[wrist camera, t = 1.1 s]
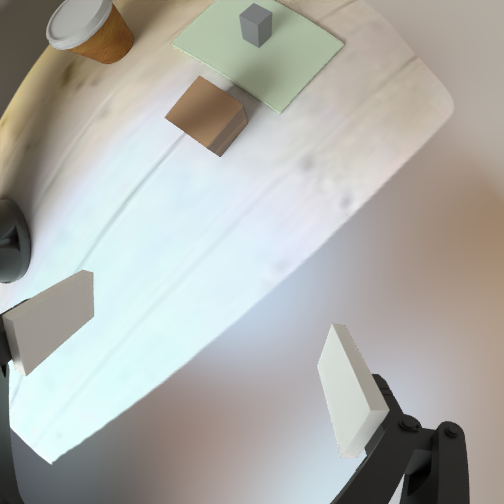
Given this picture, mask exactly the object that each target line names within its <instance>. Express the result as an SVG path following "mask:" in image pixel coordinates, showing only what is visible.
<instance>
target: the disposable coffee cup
mask: <svg viewBox="0 0 504 504" xmlns="http://www.w3.org/2000/svg"><path fill="white" fill-rule="evenodd" d="M46 36H47V39H48V40H49V43H50V45H51V46H52V47H53V48H55V49H59V50H63V49H66V50H69V51H72V52H75V53H78V54H80V55H83V56H86V57H88V58H91V59H94V60H96V61H99V62H101V63H104V64H111V63H114V62H116V61H118V60H120V59H121V58H123V57H124V56H125V55H126V54H127V53H128V51H129V50H130V48H131V46H132V44H133V35H132V33H131V32H130V30H129V29H128V27H127V25H126V24H125V22H124V20H123V19H122V17H121V15H120V14H119V12H118V11H117V9H116V7H115V6H114V4H113V2H112V0H65V1H64V2H63V3H62V4H61V5H60V6H59V7H58V8H57V10H56V11H55V12H54V14H53V15H52V17H51V19H50V21H49V23H48V26H47V29H46Z"/></svg>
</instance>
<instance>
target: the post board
mask: <svg viewBox="0 0 504 504" xmlns="http://www.w3.org/2000/svg"><path fill="white" fill-rule="evenodd" d="M171 45H172V46H173V47H174V48H176V49H178V50H180V51H182V52H183V53H185V54H187V55H189V56H191V57H192V58H194V59H196V60H198V61H199V62H201V63H203V64H204V65H206V66H208V67H209V68H211V69H213V70H214V71H216V72H218V73H219V74H221V75H222V76H224V77H226V78H227V79H229V80H230V81H232V82H233V83H235V84H236V85H238V86H239V87H241V88H242V89H244V90H245V91H247V92H248V93H250V94H251V95H253V96H254V97H256V98H257V99H258V100H260V101H261V102H263V103H264V104H266V105H267V106H268V107H270V108H271V109H272V110H274V111H275V112H277V113H278V114H279V115H280V114H281V113H282V112H283V110H284V109H285V108H286V107H287V106H288V105H289V104H290V103H291V101H292V100H293V99H294V98H295V97H296V96H297V95H298V94H299V93H300V91H301V90H302V89H303V88H304V87H305V86H306V85H307V84H308V83H309V82H310V81H311V80H312V78H313V77H314V76H315V75H316V74H317V73H318V72H319V71H320V70H321V69H322V68H323V67H324V66H325V65H326V64H327V63H328V62H329V61H330V60H331V59H332V57H333V56H334V55H335V54H336V53H337V52H338V51H339V50H340V49H341V48H342V47H343V46H344V43H342V42H341V41H340V40H338V39H337V38H335V37H334V36H332V35H331V34H330V33H328V32H327V31H325V30H324V29H322V28H321V27H319V26H317V25H316V24H314V23H313V22H311V21H310V20H308V19H306V18H305V17H303V16H301V15H300V14H298V13H296V12H294V11H293V10H291V9H289V8H287V7H286V6H284V5H282V4H280V3H278V2H276V1H274V0H216V1H215V2H214V3H213V4H212V5H211V6H210V7H208V8H207V9H206V10H205V11H204V12H203V13H202V14H201V15H199V16H198V17H197V18H196V19H195V20H194V21H193V22H192V23H191V24H190V25H189V26H188V27H187V28H186V29H185V30H184V31H183V32H182V33H181V34H180V35H179V36H178V37H177V38H176V39H175V40H174V41H173V42H172V43H171Z"/></svg>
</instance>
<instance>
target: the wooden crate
mask: <svg viewBox="0 0 504 504" xmlns="http://www.w3.org/2000/svg"><path fill="white" fill-rule="evenodd" d="M165 118H166V119H167V120H168V121H170V122H171V123H173V124H174V125H176V126H177V127H178V128H180V129H181V130H183V131H184V132H185V133H187V134H188V135H190V136H191V137H192V138H194V139H195V140H196V141H198V142H199V143H201V144H202V145H203V146H205V147H206V148H207V149H209V150H210V151H212V152H213V153H215V154H216V155H218V156H219V157H221V155H222V154H223V153H224V152H225V150H226V149H227V148H228V147H229V146H230V144H231V143H232V142H233V141H234V139H235V138H236V137H237V136H238V135H239V133H240V132H241V131H242V130H243V129H244V127H245V126H246V125H247V124H248V122H247V118H246V114H245V110H244V106H243V104H242V103H241V102H239V101H238V100H236V99H235V98H233V97H232V96H231V95H229V94H228V93H226V92H225V91H223V90H221V89H220V88H218V87H217V86H215V85H214V84H212V83H211V82H209V81H207V80H206V79H204V78H203V77H201V76H199V77H198V78H197V79H196V80H195V81H194V82H193V84H192V85H191V86H190V87H189V88H188V89H187V91H186V92H185V93H184V94H183V95H182V96H181V98H180V99H179V100H178V101H177V103H176V104H175V105H174V106H173V108H172V109H171V110H170V111H169V113H168V114H167V115H166V116H165Z"/></svg>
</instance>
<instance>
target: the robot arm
mask: <svg viewBox="0 0 504 504" xmlns="http://www.w3.org/2000/svg"><path fill="white" fill-rule="evenodd" d="M29 260H30V238H29V232H28V228H27V224H26V221H25V219H24V216H23V214H22V212H21V211H20V209H19V208H18V206H17V205H16V204H15V203H14V202H12V201H10V200H8V199H3V200H0V283H12V282H14V281H16V280H19V279H20V278H22V277H23V276H24V274H25V273H26V271H27V268H28V265H29ZM93 317H94V296H93V272H89V271H86V270H81V271H80V272H78V273H76V274H74V275H72V276H70V277H68V278H66V279H65V280H63V281H61V282H59V283H57V284H55V285H54V286H52V287H50V288H48V289H46V290H45V291H43V292H41V293H39V294H38V295H36V296H34V297H32V298H30V299H26V300H24V301H22V302H21V303H19V305H18V304H17V305H15V306H14V307H13V308H10V309H9V310H7V311H5V312H4V313H2V314H0V504H24V502H23V500H22V498H21V496H20V494H19V490H18V485H17V480H16V475H15V469H14V463H13V456H12V447H11V438H10V424H9V365H8V362H9V361H10V360H11V359H12V360H13V364H14V367H15V370H17V371H18V372H20V373H22V374H23V375H25V376H27V375H28V374H30V373H31V372H32V371H33V370H34V369H35V368H36V367H37V366H38V365H39V364H40V363H41V362H43V361H44V360H45V359H46V358H47V357H48V356H49V355H50V354H51V353H52V352H54V351H55V350H56V349H57V348H58V347H59V346H60V345H61V344H63V343H64V342H65V341H66V340H67V339H68V338H69V337H71V336H72V335H73V334H74V333H75V332H76V331H77V330H79V329H80V328H81V327H82V326H83V325H84V324H86V323H87V322H88V321H89V320H90V319H92V318H93ZM317 368H318V372H319V375H320V379H321V383H322V387H323V390H324V394H325V398H326V402H327V406H328V410H329V414H330V417H331V422H332V425H333V429H334V434H335V438H336V442H337V446H338V450H339V454H340V458H357V457H359V455H360V454H361V453H362V451H363V450H364V448H365V451H366V454H367V457H366V458H365V459H364V460H363V462H362V463H361V464H360V465H359V467H358V468H357V469H356V472H355V473H354V474H353V476H352V477H351V478H350V480H349V481H348V482H347V484H346V485H345V486H344V487H343V489H342V490H341V491H340V493H339V494H338V495H337V496H336V497H335V499H334V500H333V501H332V502H331V503H330V504H388V503H389V501H390V500H391V497H392V496H393V494H394V492H395V490H396V488H397V487H398V485H399V483H400V480H401V479H402V477H403V474H405V476H404V482H403V488H402V493H401V499H400V504H470V498H469V473H468V462H467V461H468V460H467V451H466V443H465V435H464V432H463V430H462V428H461V427H460V426H459V425H457V424H456V423H453V422H449V421H445V422H442V423H441V424H440V425H439V426H438V428H437V429H436V430H432V429H426V428H422V426H421V424H420V422H419V421H418V420H417V419H415V418H414V417H412V416H410V415H406V414H403V412H402V410H401V408H400V406H399V404H398V402H397V400H396V399H395V397H394V396H393V393H392V391H391V390H390V388H389V386H388V384H387V382H386V381H385V380H384V379H383V378H382V377H381V376H380V375H378V374H371V372H370V370H369V369H368V367H367V365H366V363H365V361H364V359H363V357H362V355H361V353H360V352H359V350H358V348H357V346H356V344H355V342H354V340H353V338H352V337H351V335H350V333H349V331H348V329H347V328H346V326H345V325H340V324H332V325H331V328H330V331H329V334H328V337H327V340H326V342H325V345H324V348H323V351H322V354H321V356H320V359H319V362H318V365H317Z"/></svg>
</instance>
